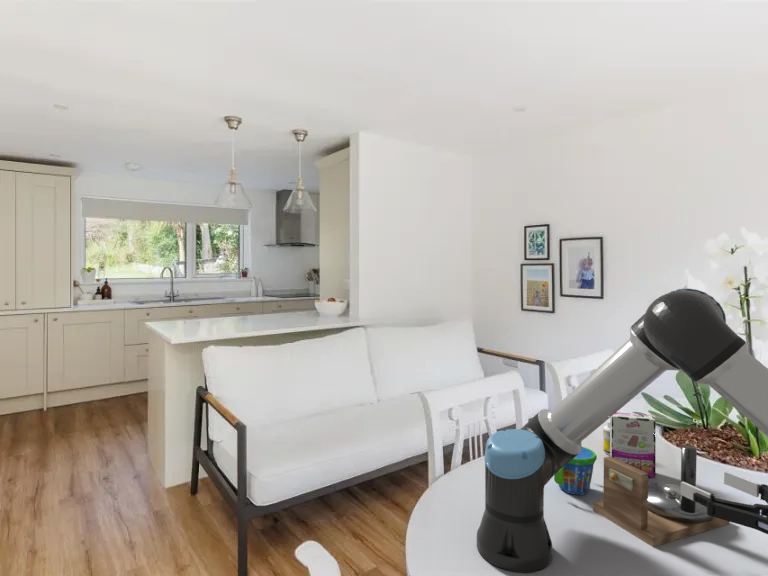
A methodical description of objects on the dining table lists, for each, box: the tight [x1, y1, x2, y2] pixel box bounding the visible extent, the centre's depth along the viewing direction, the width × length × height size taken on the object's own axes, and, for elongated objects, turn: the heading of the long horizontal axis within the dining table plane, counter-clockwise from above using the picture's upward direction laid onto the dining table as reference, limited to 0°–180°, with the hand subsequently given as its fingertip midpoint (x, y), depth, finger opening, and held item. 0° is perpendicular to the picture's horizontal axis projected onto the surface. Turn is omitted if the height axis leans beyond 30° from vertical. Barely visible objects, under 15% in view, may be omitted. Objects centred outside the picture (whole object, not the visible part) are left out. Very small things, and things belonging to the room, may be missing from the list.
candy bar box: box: [609, 411, 657, 478], centre depth 131 cm, size 11×5×16 cm, turn 70°
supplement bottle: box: [602, 419, 610, 456], centre depth 145 cm, size 6×6×10 cm
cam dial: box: [648, 445, 713, 522], centre depth 108 cm, size 15×15×16 cm
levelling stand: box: [592, 455, 730, 548], centre depth 107 cm, size 26×16×14 cm, turn 111°
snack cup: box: [553, 446, 598, 496], centre depth 121 cm, size 16×10×10 cm
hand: (703, 482), depth 99 cm, fingers open, 13 cm apart
